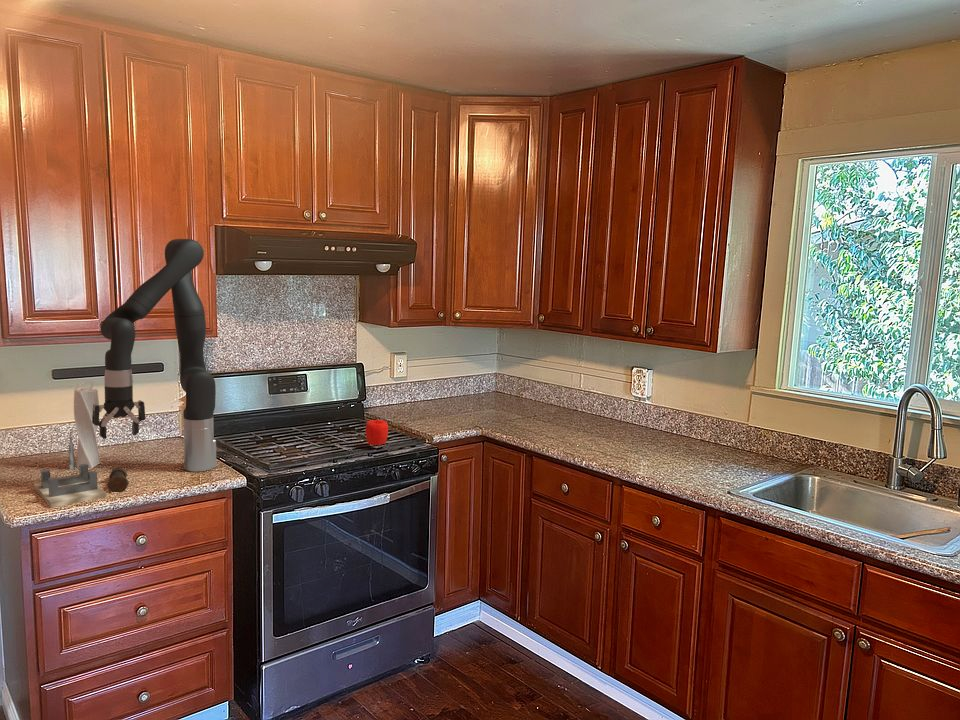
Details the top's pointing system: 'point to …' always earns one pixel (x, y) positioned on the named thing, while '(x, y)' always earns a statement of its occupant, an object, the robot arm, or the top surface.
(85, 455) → the skyscraper
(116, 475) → the bolt
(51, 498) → the collar board
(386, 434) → the apple
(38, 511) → the top surface
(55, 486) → the grey notched cradle
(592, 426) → the top surface
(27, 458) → the top surface
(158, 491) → the top surface
